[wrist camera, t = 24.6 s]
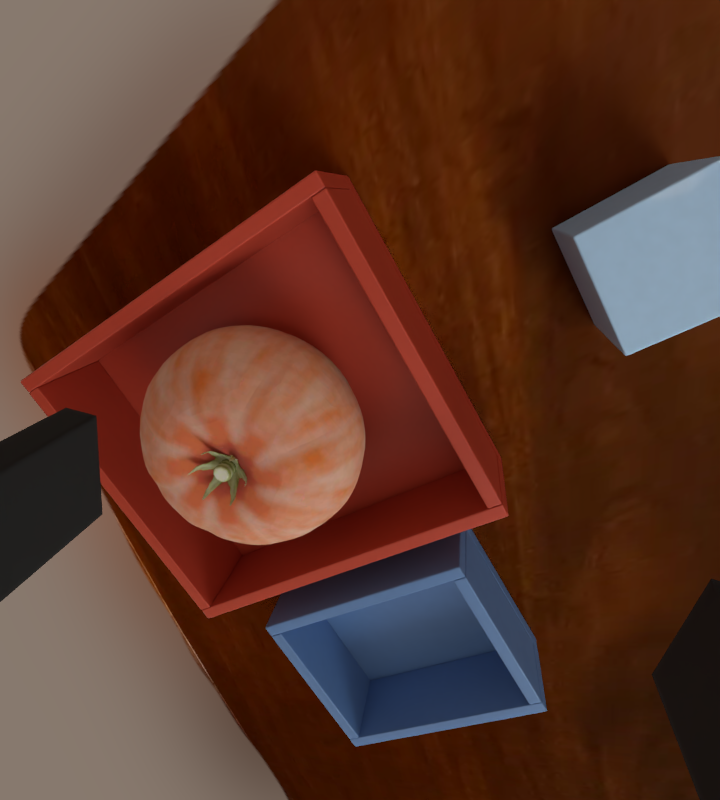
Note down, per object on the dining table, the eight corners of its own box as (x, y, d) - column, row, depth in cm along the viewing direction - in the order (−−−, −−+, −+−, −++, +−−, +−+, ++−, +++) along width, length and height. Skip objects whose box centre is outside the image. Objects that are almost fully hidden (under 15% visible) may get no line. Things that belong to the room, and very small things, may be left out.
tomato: (332, 278, 24) (273, 313, 17) (406, 465, 27) (384, 564, 20) (159, 346, 27) (48, 400, 20) (243, 505, 30) (173, 602, 23)
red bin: (92, 351, 29) (19, 381, 24) (347, 175, 23) (315, 169, 18) (246, 558, 33) (208, 619, 28) (501, 458, 26) (509, 516, 22)
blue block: (550, 228, 22) (572, 236, 17) (670, 163, 20) (729, 153, 15) (594, 325, 23) (625, 357, 18) (711, 272, 21) (776, 292, 17)
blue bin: (291, 570, 33) (264, 628, 28) (460, 510, 28) (459, 566, 24) (369, 678, 35) (355, 747, 31) (536, 638, 31) (547, 711, 26)
